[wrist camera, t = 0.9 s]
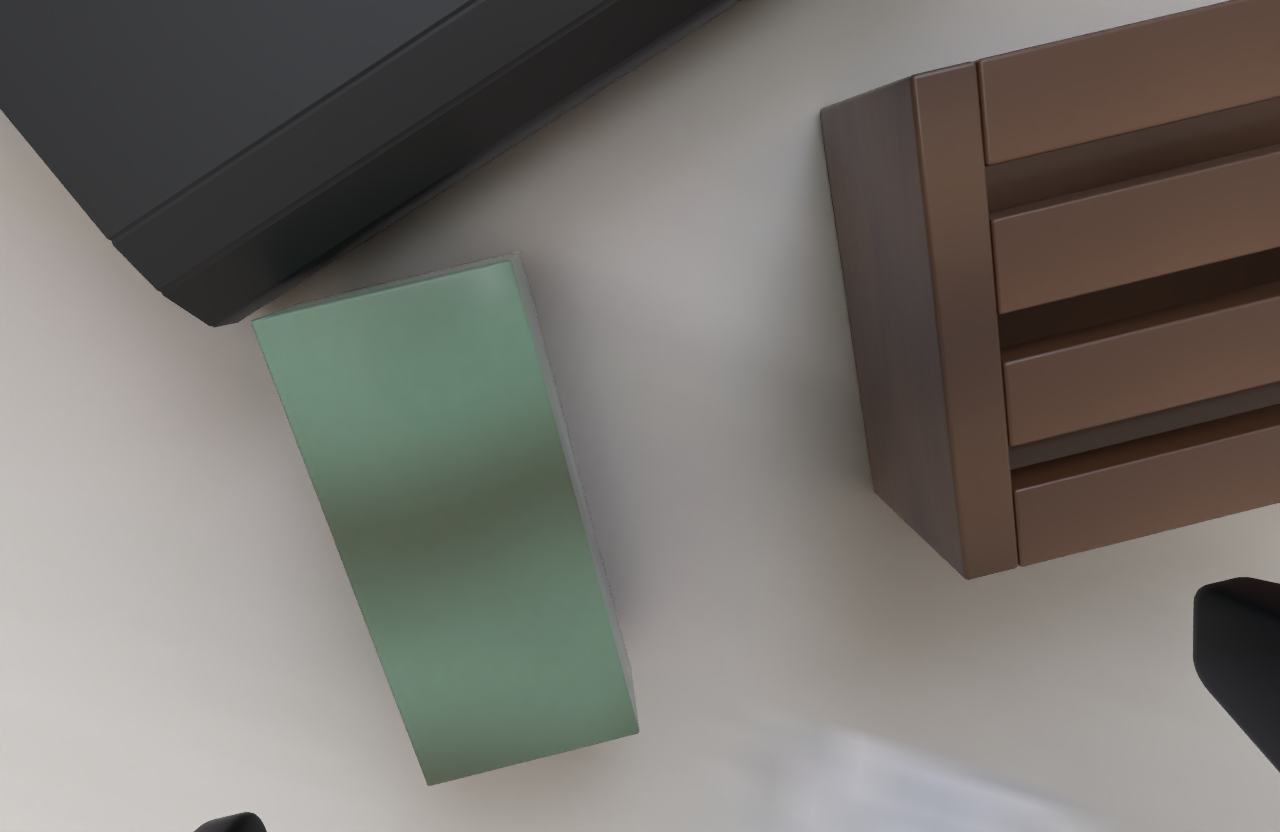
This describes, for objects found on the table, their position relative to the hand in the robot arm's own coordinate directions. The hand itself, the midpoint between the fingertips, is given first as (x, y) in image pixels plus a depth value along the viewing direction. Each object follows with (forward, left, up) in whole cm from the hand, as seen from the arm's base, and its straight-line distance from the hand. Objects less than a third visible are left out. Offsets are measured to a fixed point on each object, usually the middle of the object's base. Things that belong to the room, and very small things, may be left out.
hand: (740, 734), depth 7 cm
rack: (+1, -14, -13) cm, 19 cm away
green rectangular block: (-1, +4, -13) cm, 13 cm away
